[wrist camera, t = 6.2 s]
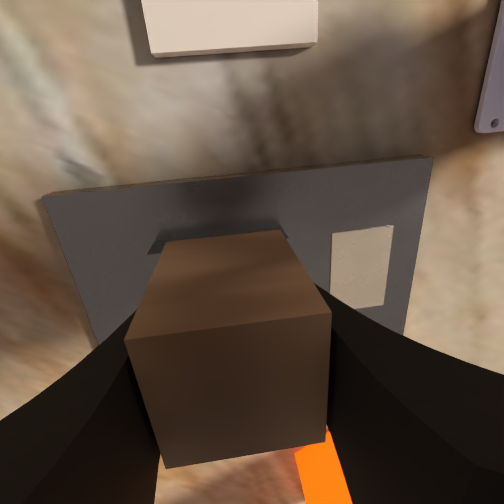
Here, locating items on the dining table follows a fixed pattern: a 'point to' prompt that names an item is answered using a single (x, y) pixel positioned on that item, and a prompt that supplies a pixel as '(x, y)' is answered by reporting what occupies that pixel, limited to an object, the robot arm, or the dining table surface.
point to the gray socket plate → (253, 230)
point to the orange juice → (322, 474)
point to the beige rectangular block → (228, 26)
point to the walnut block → (231, 349)
